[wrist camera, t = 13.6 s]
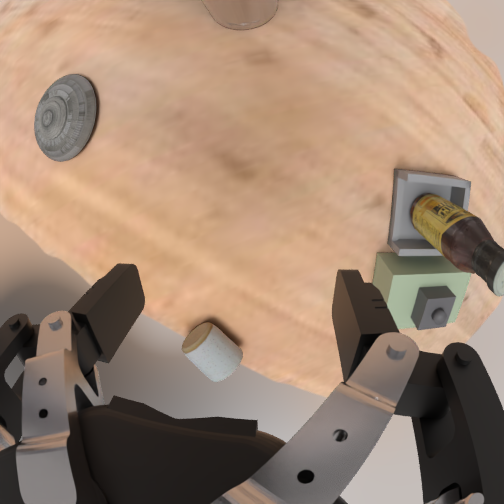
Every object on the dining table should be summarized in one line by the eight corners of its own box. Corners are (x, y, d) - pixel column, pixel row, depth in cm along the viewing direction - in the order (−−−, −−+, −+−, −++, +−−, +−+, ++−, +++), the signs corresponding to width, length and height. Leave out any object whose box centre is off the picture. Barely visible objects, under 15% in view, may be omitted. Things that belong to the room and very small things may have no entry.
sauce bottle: (443, 193, 32) (537, 244, 14) (438, 233, 35) (518, 303, 16) (407, 189, 33) (500, 243, 15) (403, 232, 35) (479, 310, 17)
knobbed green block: (384, 167, 33) (422, 182, 23) (461, 177, 31) (507, 194, 21) (368, 303, 41) (388, 350, 31) (437, 299, 40) (466, 338, 30)
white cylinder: (213, 312, 45) (202, 343, 38) (246, 342, 47) (240, 374, 40) (175, 337, 48) (161, 366, 41) (206, 363, 50) (196, 393, 43)
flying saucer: (39, 94, 32) (19, 95, 27) (98, 61, 30) (78, 55, 24) (47, 169, 37) (26, 175, 32) (106, 147, 35) (85, 150, 30)
